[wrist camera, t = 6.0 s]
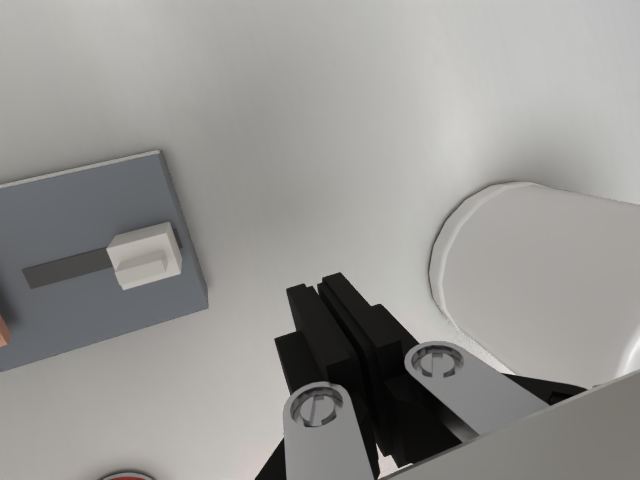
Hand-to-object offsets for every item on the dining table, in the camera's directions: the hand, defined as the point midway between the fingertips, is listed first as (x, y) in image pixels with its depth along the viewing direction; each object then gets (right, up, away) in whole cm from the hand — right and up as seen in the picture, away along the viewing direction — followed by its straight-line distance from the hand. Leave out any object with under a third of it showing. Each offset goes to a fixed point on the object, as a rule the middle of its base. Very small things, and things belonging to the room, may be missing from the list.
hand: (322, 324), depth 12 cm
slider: (-10, +2, +12) cm, 16 cm away
